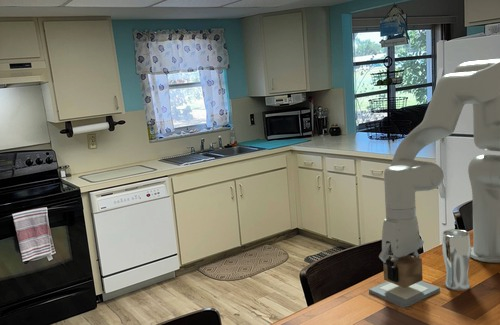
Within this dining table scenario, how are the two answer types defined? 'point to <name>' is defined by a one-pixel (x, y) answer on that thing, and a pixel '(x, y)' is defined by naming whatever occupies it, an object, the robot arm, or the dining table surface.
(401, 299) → the board
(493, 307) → the dining table surface
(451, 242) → the metal cup
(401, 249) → the robot arm
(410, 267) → the walnut block
